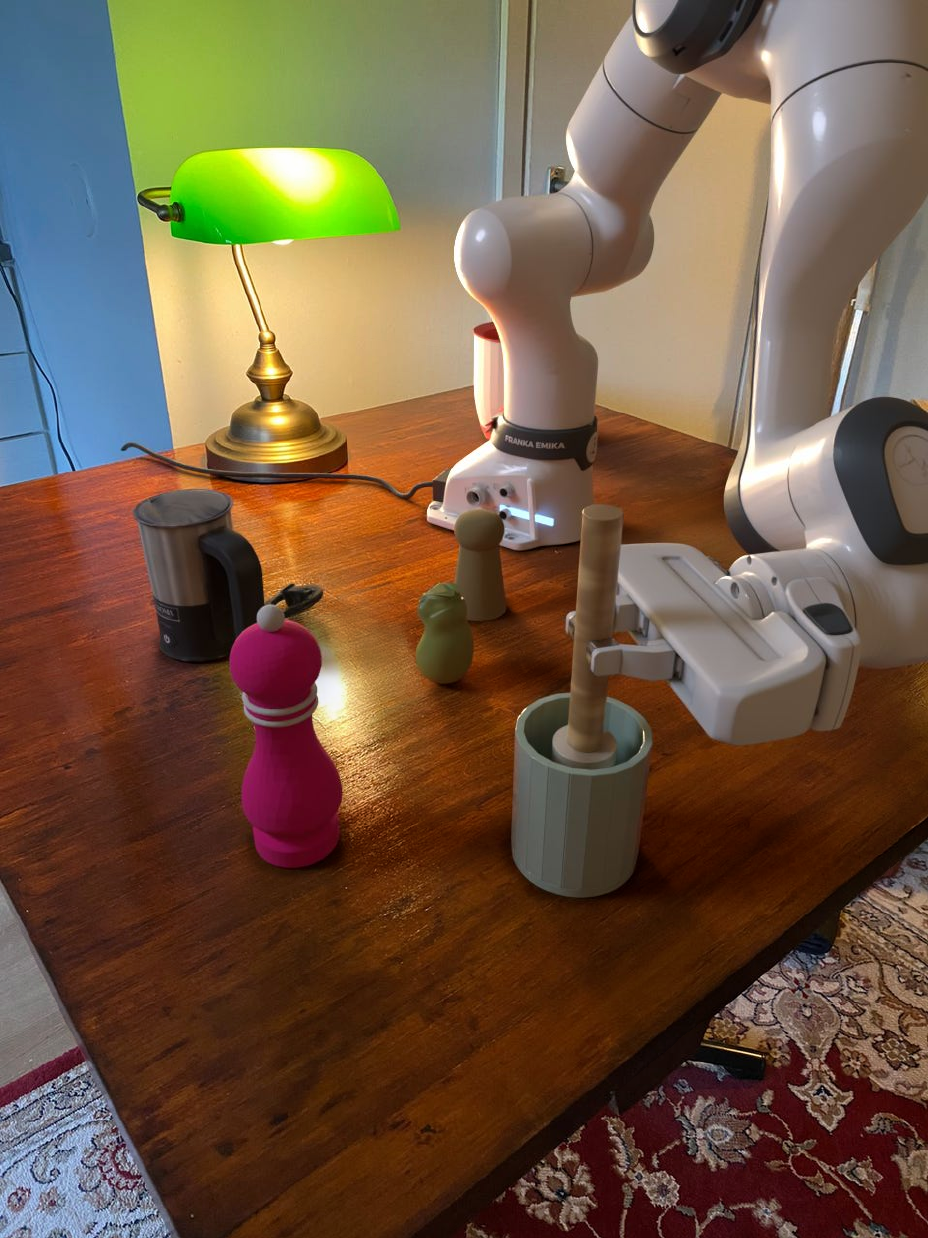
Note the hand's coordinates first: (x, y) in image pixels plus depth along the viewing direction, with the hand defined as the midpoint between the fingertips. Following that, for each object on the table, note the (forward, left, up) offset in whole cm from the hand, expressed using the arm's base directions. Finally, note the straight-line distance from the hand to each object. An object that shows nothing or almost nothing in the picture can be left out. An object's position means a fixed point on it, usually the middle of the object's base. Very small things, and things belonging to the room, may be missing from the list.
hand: (579, 643), depth 58 cm
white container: (-39, +86, -18) cm, 96 cm away
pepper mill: (-18, -7, -18) cm, 27 cm away
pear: (-18, +17, -18) cm, 31 cm away
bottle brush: (+1, +1, -15) cm, 15 cm away
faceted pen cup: (+1, +1, -18) cm, 18 cm away
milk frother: (-41, +16, -18) cm, 48 cm away
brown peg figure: (-21, +31, -18) cm, 42 cm away
